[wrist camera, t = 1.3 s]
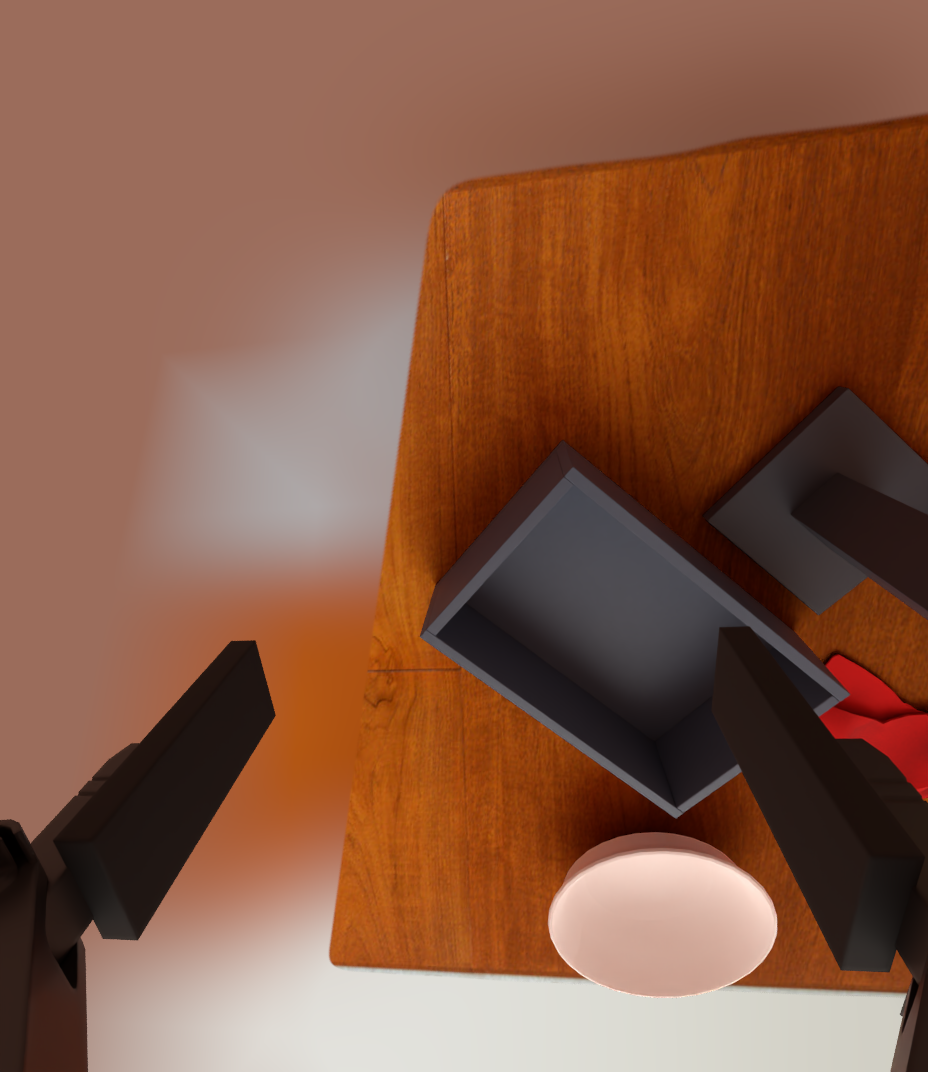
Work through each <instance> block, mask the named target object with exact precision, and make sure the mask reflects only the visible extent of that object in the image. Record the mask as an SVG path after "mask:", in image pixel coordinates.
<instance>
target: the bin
mask: <svg viewBox="0 0 928 1072" xmlns="http://www.w3.org/2000/svg"><path fill="white" fill-rule="evenodd" d="M741 626H750V627H751V629H752V630H753V631H754V633H755V634H756V635H757V637H758V638H759V639H760V641H761V642H762V643H763V645H764V646H765V647H766V648H767V650H768V651H769V652H770V654H771V655H772V656H773V658H774V659H775V660H776V662H777V663H778V664H779V666H780V667H781V668H782V669H783V671H784V672H785V673H786V675H787V676H788V677H789V679H790V680H791V681H792V683H793V684H794V685H795V687H796V688H797V689H798V690H799V692H800V693H801V694H802V696H803V697H804V698H805V700H806V701H807V702H808V704H809V705H810V706H811V708H812V709H813V710H814V711H815V713H816V714H817V715H818V717H819V716H821V715H822V714H824V713H825V712H826V711H828V710H829V709H831V708H832V707H833V706H835V705H836V704H838V703H839V702H840V701H842V700H844V699H845V698H847V697H848V696H849V695H850V693H849V692H848V691H847V690H846V689H845V687H844V686H843V685H842V684H841V683H840V682H839V681H838V680H837V678H836V677H835V676H834V675H833V674H832V673H831V672H830V671H829V670H828V668H827V667H826V666H825V665H824V664H823V663H822V662H821V661H820V660H819V658H818V657H817V656H816V655H815V654H814V653H813V652H812V651H811V650H810V648H809V647H808V646H807V645H806V644H805V643H804V642H803V641H802V640H801V638H800V637H799V636H798V635H797V634H796V633H795V632H794V631H793V630H792V629H791V628H789V627H788V626H787V625H786V624H784V623H783V622H782V621H781V620H780V619H778V618H777V617H776V616H775V615H774V614H772V613H771V612H770V611H769V610H768V609H766V608H765V607H764V606H763V605H762V604H760V603H759V602H758V601H757V600H755V599H754V598H753V597H752V596H751V595H749V594H748V593H747V592H746V591H745V590H743V589H742V588H741V587H740V586H739V585H737V584H736V583H735V582H734V581H733V580H731V579H730V578H729V577H728V576H726V575H725V574H724V573H723V572H722V571H720V570H719V569H718V568H717V567H716V566H714V565H713V564H712V563H711V562H710V561H708V560H707V559H706V558H705V557H704V556H702V555H701V554H700V553H699V552H697V551H696V550H695V549H694V548H693V547H691V546H690V545H689V544H688V543H687V542H685V541H684V540H683V539H682V538H681V537H679V536H678V535H677V534H676V533H675V532H673V531H672V530H671V529H670V528H668V527H667V526H666V525H665V524H664V523H662V522H661V521H660V520H659V519H658V518H656V517H655V516H654V515H653V514H652V513H650V512H649V511H648V510H647V509H646V508H644V507H643V506H642V505H641V504H639V503H638V502H637V501H636V500H635V499H633V498H632V497H631V496H630V495H629V494H627V493H626V492H625V491H624V490H623V489H621V488H620V487H619V486H618V485H617V484H615V483H614V482H613V481H612V480H611V479H609V478H608V477H607V476H606V475H604V474H603V473H602V472H601V471H600V470H598V469H597V468H596V467H595V466H594V465H592V464H591V463H590V462H589V461H588V460H586V459H585V458H584V457H583V456H582V455H580V454H579V453H578V452H577V451H575V450H574V449H573V448H572V447H571V446H569V445H568V444H567V443H566V442H565V441H563V440H562V441H561V442H560V443H559V445H558V446H557V447H556V448H555V449H554V450H553V451H552V453H551V454H550V455H549V456H548V457H547V458H546V459H545V461H544V462H543V463H542V464H541V465H540V466H539V467H538V469H537V470H536V471H535V472H534V473H533V474H532V475H531V477H530V478H529V479H528V480H527V481H526V482H525V484H524V485H523V486H522V487H521V488H520V489H519V490H518V492H517V493H516V494H515V495H514V496H513V497H512V498H511V500H510V501H509V502H508V503H507V504H506V505H505V506H504V508H503V509H502V510H501V511H500V512H499V513H498V514H497V516H496V517H495V518H494V519H493V520H492V521H491V523H490V524H489V525H488V526H487V527H486V528H485V529H484V531H483V532H482V533H481V534H480V535H479V536H478V537H477V539H476V540H475V541H474V542H473V543H472V544H471V545H470V547H469V548H468V549H467V550H466V551H465V552H464V553H463V555H462V556H461V557H460V558H459V559H458V560H457V561H456V563H455V564H454V565H453V566H452V567H451V568H450V570H449V571H448V572H447V573H446V574H445V575H444V576H443V578H442V579H441V580H440V581H439V582H438V583H437V584H436V586H435V589H434V592H433V595H432V598H431V602H430V605H429V608H428V611H427V615H426V618H425V621H424V624H423V628H422V631H421V634H420V638H422V639H423V640H425V641H426V642H428V643H429V644H430V645H432V646H433V647H435V648H436V649H437V650H439V651H440V652H442V653H443V654H444V655H446V656H447V657H449V658H450V659H452V660H453V661H454V662H456V663H457V664H459V665H460V666H461V667H463V668H464V669H466V670H467V671H468V672H470V673H471V674H473V675H474V676H475V677H477V678H478V679H480V680H481V681H483V682H484V683H485V684H487V685H488V686H490V687H491V688H492V689H494V690H495V691H497V692H498V693H499V694H501V695H502V696H504V697H505V698H507V699H508V700H509V701H511V702H512V703H514V704H515V705H516V706H518V707H519V708H521V709H522V710H523V711H525V712H526V713H528V714H529V715H531V716H532V717H533V718H535V719H536V720H538V721H539V722H540V723H542V724H543V725H545V726H546V727H547V728H549V729H550V730H552V731H553V732H554V733H556V734H557V735H559V736H560V737H562V738H563V739H564V740H566V741H567V742H569V743H570V744H571V745H573V746H574V747H576V748H577V749H578V750H580V751H581V752H583V753H584V754H586V755H587V756H588V757H590V758H591V759H593V760H594V761H595V762H597V763H598V764H600V765H601V766H602V767H604V768H605V769H607V770H608V771H610V772H611V773H612V774H614V775H615V776H617V777H618V778H619V779H621V780H622V781H624V782H625V783H626V784H628V785H629V786H631V787H632V788H633V789H635V790H636V791H638V792H639V793H641V794H642V795H643V796H645V797H646V798H648V799H649V800H650V801H652V802H653V803H655V804H656V805H657V806H659V807H660V808H662V809H663V810H665V811H666V812H667V813H669V814H670V815H672V816H673V817H674V818H678V817H679V816H680V815H682V814H683V812H686V811H687V810H688V809H690V808H691V807H693V806H694V805H695V804H697V803H698V802H700V801H701V800H702V799H704V798H705V797H707V796H708V795H709V794H711V793H712V792H714V791H715V790H717V789H718V788H719V787H721V786H722V785H724V784H725V783H726V782H728V781H729V780H731V779H732V778H733V777H735V776H736V775H738V774H739V773H740V772H742V771H741V769H740V767H739V765H738V763H737V761H736V759H735V757H734V755H733V753H732V751H731V749H730V747H729V745H728V743H727V741H726V739H725V737H724V735H723V733H722V731H721V729H720V727H719V725H718V723H717V721H716V719H715V717H714V715H713V713H712V711H711V710H712V700H713V689H714V679H715V668H716V658H717V647H718V637H719V627H741Z"/></svg>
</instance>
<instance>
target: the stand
mask: <svg viewBox="0 0 928 1072" xmlns="http://www.w3.org/2000/svg"><path fill="white" fill-rule="evenodd" d="M703 517H704V518H705V519H706V521H707V522H709V523H710V524H711V525H712V526H713V527H715V528H716V529H717V530H718V531H719V532H720V533H722V534H723V535H724V536H725V537H726V538H728V539H729V540H730V541H731V542H732V543H734V544H735V545H736V546H737V547H738V548H739V549H741V550H742V551H743V552H744V553H745V554H747V555H748V556H749V557H750V558H751V559H752V560H754V561H755V562H756V563H757V564H758V565H760V566H761V567H762V568H763V569H764V570H766V571H767V572H768V573H769V574H770V575H771V576H773V577H774V578H775V579H776V580H777V581H779V582H780V583H781V584H782V585H783V586H784V587H786V588H787V589H788V590H789V591H790V592H792V593H793V594H794V595H795V596H796V597H798V598H799V599H800V600H801V601H802V602H803V603H805V604H806V605H807V606H808V607H809V608H811V609H812V610H813V611H814V612H815V613H816V614H818V615H820V614H821V613H822V612H824V611H825V610H826V609H827V608H829V607H830V606H831V605H833V604H834V603H835V602H836V601H838V600H839V599H840V598H841V597H843V596H844V595H845V594H847V593H848V592H849V591H850V590H852V589H853V588H854V587H855V586H857V585H858V584H859V583H860V582H862V581H863V580H864V579H866V578H867V577H869V578H871V579H872V580H873V581H875V582H876V583H877V584H879V585H880V586H882V587H883V588H884V589H886V590H887V591H889V592H890V593H891V594H893V595H894V596H895V597H897V598H898V599H900V600H901V601H902V602H904V603H905V604H906V605H908V606H909V607H911V608H912V609H913V610H915V611H916V612H918V613H919V614H920V615H922V616H923V617H924V618H926V619H927V620H928V464H927V463H926V462H925V461H924V460H923V459H922V458H921V457H920V456H919V455H918V454H917V453H916V452H915V451H914V450H912V449H911V448H910V447H909V446H908V445H907V444H906V443H905V442H904V441H903V440H902V439H901V438H900V437H899V436H898V435H897V434H896V433H895V432H894V431H893V430H892V429H891V428H890V427H888V426H887V425H886V424H885V423H884V422H883V421H882V420H881V419H880V418H879V417H878V416H877V415H876V414H875V413H874V412H873V411H872V410H871V409H870V408H869V407H868V406H867V405H865V404H864V403H863V402H862V401H861V400H860V399H859V398H858V397H857V396H856V395H855V394H854V393H853V392H852V391H851V390H850V389H849V388H844V387H837V388H836V389H835V390H834V391H833V392H832V393H831V394H830V395H829V396H828V397H827V398H826V399H825V400H824V401H823V402H822V403H821V404H820V405H818V406H817V407H816V408H815V409H814V410H813V411H812V412H811V413H810V414H809V415H808V416H807V417H806V418H805V419H804V420H803V421H802V422H801V423H800V424H798V425H797V426H796V427H795V428H794V429H793V430H792V431H791V432H790V433H789V434H788V435H787V436H786V437H785V438H784V439H783V440H782V441H781V442H779V443H778V444H777V445H776V446H775V447H774V448H773V449H772V450H771V451H770V452H769V453H768V454H767V455H766V456H765V457H764V458H763V459H762V460H761V461H759V462H758V463H757V464H756V465H755V466H754V467H753V468H752V469H751V470H750V471H749V472H748V473H747V474H746V475H745V476H744V477H743V478H742V479H740V480H739V481H738V482H737V483H736V484H735V485H734V486H733V487H732V488H731V489H730V490H729V491H728V492H727V493H726V494H725V495H724V496H723V497H721V498H720V499H719V500H718V501H717V502H716V503H715V504H714V505H713V506H712V507H711V508H710V509H709V510H708V511H707V512H706V513H705V514H704V515H703Z"/></svg>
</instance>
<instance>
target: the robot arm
mask: <svg viewBox="0 0 928 1072" xmlns="http://www.w3.org/2000/svg"><path fill="white" fill-rule="evenodd" d="M711 711H712V713H713V715H714V717H715V719H716V721H717V723H718V725H719V727H720V729H721V731H722V733H723V735H724V737H725V739H726V741H727V743H728V745H729V747H730V749H731V751H732V753H733V755H734V757H735V759H736V761H737V763H738V765H739V767H740V769H741V771H742V773H743V775H744V777H745V779H746V781H747V783H748V785H749V787H750V789H751V791H752V793H753V795H754V797H755V799H756V801H757V803H758V805H759V807H760V809H761V811H762V813H763V815H764V817H765V819H766V821H767V823H768V825H769V827H770V829H771V831H772V833H773V835H774V837H775V839H776V841H777V843H778V845H779V847H780V849H781V851H782V853H783V855H784V857H785V859H786V861H787V863H788V865H789V867H790V869H791V871H792V873H793V875H794V877H795V879H796V881H797V883H798V885H799V887H800V889H801V891H802V893H803V895H804V897H805V899H806V901H807V903H808V905H809V907H810V909H811V911H812V913H813V915H814V917H815V919H816V921H817V923H818V925H819V927H820V929H821V931H822V933H823V935H824V937H825V939H826V941H827V943H828V945H829V947H830V949H831V951H832V953H833V955H834V957H835V959H836V961H837V963H838V965H839V967H840V969H841V970H847V971H871V972H890V969H891V966H892V962H893V959H894V956H895V953H896V950H897V951H898V952H899V954H900V956H901V957H902V959H903V961H904V962H905V964H906V966H907V967H908V969H909V971H910V972H911V974H912V975H913V978H912V981H911V984H910V987H909V990H908V992H907V995H906V998H905V1001H904V1004H903V1007H902V1010H901V1013H900V1015H901V1016H903V1018H902V1023H901V1027H900V1031H899V1036H898V1040H897V1045H896V1049H895V1054H894V1058H893V1063H892V1068H891V1072H928V803H927V802H926V801H923V799H922V796H921V795H920V793H919V792H918V791H917V790H916V789H915V788H914V786H913V785H912V784H911V783H908V782H907V778H906V777H905V776H904V775H903V773H902V772H901V771H900V770H899V769H898V768H897V766H896V765H895V764H894V763H893V762H892V761H891V759H890V758H889V757H888V756H886V755H885V754H884V753H882V752H881V751H879V750H878V749H876V748H875V747H874V746H872V745H871V744H869V743H868V742H866V741H865V740H864V739H862V738H859V739H835V738H834V736H833V735H832V734H831V732H830V731H829V730H828V729H827V727H826V726H825V725H824V723H823V722H822V721H821V719H820V718H819V717H818V715H817V714H816V713H815V711H814V710H813V709H812V708H811V706H810V705H809V704H808V702H807V701H806V700H805V698H804V697H803V696H802V694H801V693H800V692H799V690H798V689H797V688H796V687H795V685H794V684H793V683H792V681H791V680H790V679H789V677H788V676H787V675H786V673H785V672H784V671H783V669H782V668H781V667H780V666H779V664H778V663H777V662H776V660H775V659H774V658H773V656H772V655H771V654H770V652H769V651H768V650H767V648H766V647H765V646H764V645H763V643H762V642H761V641H760V639H759V638H758V637H757V635H756V634H755V633H754V631H753V630H752V629H751V627H750V626H741V627H719V637H718V647H717V658H716V668H715V679H714V689H713V700H712V710H711ZM274 717H275V711H274V708H273V704H272V700H271V696H270V693H269V689H268V685H267V682H266V678H265V674H264V671H263V667H262V663H261V659H260V656H259V652H258V648H257V645H256V641H231V642H230V643H229V644H228V645H227V646H226V647H225V649H224V650H223V651H222V652H221V653H220V654H219V655H218V656H217V658H216V659H215V660H214V661H213V662H212V663H211V664H210V665H209V666H208V668H207V669H206V670H205V671H204V672H203V673H202V674H201V675H200V677H199V678H198V679H197V680H196V681H195V682H194V683H193V684H192V685H191V687H190V688H189V689H188V690H187V691H186V692H185V693H184V694H183V695H182V697H181V698H180V699H179V700H178V701H177V702H176V703H175V705H174V706H173V707H172V708H171V709H170V710H169V711H168V712H167V713H166V714H165V716H164V717H163V718H162V719H161V720H160V721H159V722H158V723H157V725H156V726H155V727H154V728H153V729H152V730H151V731H150V732H149V733H148V735H147V736H146V737H145V738H144V739H143V740H142V741H141V743H134V744H130V745H129V746H127V747H126V748H124V749H123V750H122V751H120V752H119V753H117V754H116V755H115V756H113V757H112V758H111V759H109V760H108V761H107V762H106V763H105V764H104V765H103V766H102V768H100V770H99V771H98V772H97V773H96V774H95V775H94V776H93V777H92V778H93V779H92V781H88V782H87V784H86V785H85V786H84V787H83V788H82V789H81V790H80V791H79V794H78V796H75V797H73V799H72V800H71V801H70V802H69V803H68V804H67V805H66V806H65V807H64V808H63V809H62V810H61V811H60V813H59V814H58V815H57V816H56V817H55V818H54V819H53V820H52V821H51V822H50V823H49V824H48V825H47V826H46V828H45V829H44V830H43V831H42V832H41V833H40V834H39V835H38V836H37V837H36V838H35V839H34V840H33V842H32V843H31V844H30V842H29V840H28V838H27V837H26V835H25V833H24V831H23V829H22V827H21V825H20V824H19V823H18V822H16V821H14V820H11V819H10V820H0V1072H88V1061H87V1060H88V1058H87V1014H86V1013H87V1012H86V963H85V948H84V945H83V942H82V940H81V938H80V937H81V935H82V934H83V933H84V931H85V930H86V928H87V927H88V926H89V924H90V923H91V921H92V920H94V922H95V924H96V926H97V928H98V930H99V932H100V934H101V936H102V938H103V939H121V940H138V939H139V938H140V936H141V934H142V933H143V931H144V929H145V928H146V926H147V924H148V923H149V921H150V920H151V918H152V916H153V915H154V913H155V911H156V910H157V908H158V907H159V905H160V903H161V901H162V900H163V898H164V897H165V895H166V893H167V892H168V890H169V888H170V887H171V885H172V884H173V882H174V880H175V879H176V877H177V876H178V874H179V872H180V871H181V869H182V867H183V866H184V864H185V862H186V861H187V859H188V858H189V856H190V854H191V853H192V851H193V849H194V847H195V846H196V844H197V843H198V841H199V840H200V838H201V836H202V835H203V833H204V831H205V830H206V828H207V827H208V824H209V823H210V822H211V820H212V818H213V817H214V815H215V814H216V812H217V810H218V809H219V807H220V805H221V804H222V802H223V800H224V799H225V797H226V796H227V794H228V792H229V791H230V789H231V787H232V786H233V784H234V782H235V781H236V779H237V778H238V776H239V774H240V773H241V771H242V769H243V768H244V766H245V765H246V763H247V761H248V760H249V758H250V756H251V755H252V753H253V752H254V750H255V748H256V747H257V745H258V743H259V742H260V740H261V738H262V737H263V735H264V733H265V732H266V730H267V729H268V727H269V725H270V724H271V722H272V720H273V719H274Z"/></svg>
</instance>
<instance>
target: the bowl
mask: <svg viewBox="0 0 928 1072" xmlns="http://www.w3.org/2000/svg"><path fill="white" fill-rule="evenodd" d="M548 926H549V931H550V936H551V939H552V941H553V943H554V945H555V947H556V949H557V951H558V953H559V954H560V955H561V957H562V958H563V959H564V960H565V961H566V962H567V964H568V965H569V966H571V967H572V968H573V969H574V970H576V971H577V972H578V973H579V974H581V975H582V976H584V977H586V978H587V979H589V980H591V981H593V982H595V983H597V984H599V985H602V986H604V987H607V988H609V989H612V990H615V991H619V992H623V993H627V994H631V995H636V996H645V997H654V998H667V997H668V998H677V997H685V996H692V995H698V994H702V993H706V992H710V991H714V990H718V989H720V988H722V987H725V986H727V985H730V984H732V983H734V982H736V981H738V980H739V979H741V978H743V977H744V976H746V975H747V974H749V973H751V972H752V971H753V970H754V969H755V968H756V967H757V966H758V965H759V964H760V963H762V962H763V960H764V959H765V958H766V956H767V955H768V953H769V952H770V950H771V949H772V947H773V944H774V941H775V938H776V935H777V915H776V911H775V908H774V905H773V901H772V900H771V898H770V897H769V895H768V894H767V892H766V890H765V889H764V887H763V886H762V885H761V884H760V883H758V882H757V881H756V880H755V879H754V878H753V877H752V876H751V875H750V874H748V873H747V872H745V871H744V870H742V869H740V868H739V867H737V866H736V865H735V863H734V862H733V861H731V860H730V859H729V858H728V857H727V856H726V855H725V854H724V853H723V852H721V851H719V850H718V849H716V848H714V847H713V846H711V845H710V844H707V843H705V842H702V841H699V840H697V839H694V838H691V837H687V836H682V835H678V834H672V833H660V832H649V833H635V834H630V835H625V836H620V837H617V838H614V839H611V840H608V841H606V842H603V843H601V844H599V845H597V846H595V847H594V848H592V849H590V850H588V851H587V852H586V853H584V854H583V855H582V856H581V857H580V858H579V859H577V860H576V861H575V863H574V864H573V865H572V867H571V868H570V869H569V871H568V873H567V875H566V878H565V880H564V883H563V885H562V887H561V888H560V889H559V891H558V892H557V893H556V895H555V896H554V899H553V901H552V904H551V906H550V909H549V917H548Z"/></svg>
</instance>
